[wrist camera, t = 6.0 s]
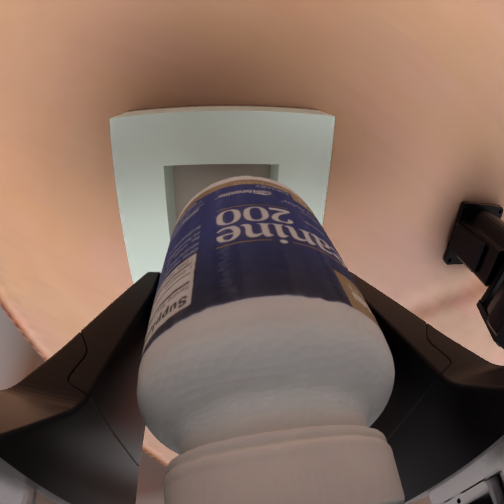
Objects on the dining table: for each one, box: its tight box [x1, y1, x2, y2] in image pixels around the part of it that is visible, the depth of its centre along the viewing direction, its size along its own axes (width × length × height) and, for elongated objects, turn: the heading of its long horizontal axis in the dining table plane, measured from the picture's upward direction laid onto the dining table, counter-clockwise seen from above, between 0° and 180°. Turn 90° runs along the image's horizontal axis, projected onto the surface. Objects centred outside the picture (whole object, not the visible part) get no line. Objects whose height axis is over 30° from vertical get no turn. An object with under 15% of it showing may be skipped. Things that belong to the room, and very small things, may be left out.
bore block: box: [109, 105, 335, 284], centre depth 19 cm, size 12×12×4 cm
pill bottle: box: [137, 176, 405, 504], centre depth 7 cm, size 5×5×10 cm
